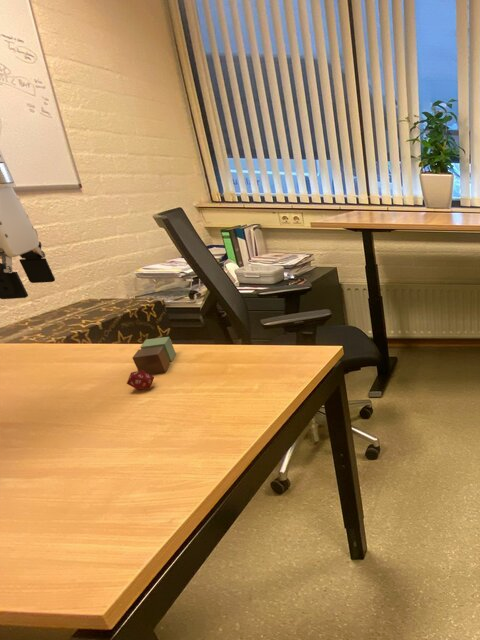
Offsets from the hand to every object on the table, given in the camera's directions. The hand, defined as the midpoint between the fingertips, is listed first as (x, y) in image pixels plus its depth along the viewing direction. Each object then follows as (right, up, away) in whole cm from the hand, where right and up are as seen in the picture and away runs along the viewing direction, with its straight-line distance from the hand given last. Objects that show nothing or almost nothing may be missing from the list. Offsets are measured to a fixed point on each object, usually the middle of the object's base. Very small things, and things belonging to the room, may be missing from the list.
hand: (29, 289), depth 69 cm
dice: (+5, -17, +16) cm, 24 cm away
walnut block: (+2, -13, +23) cm, 27 cm away
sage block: (-1, -10, +28) cm, 30 cm away
